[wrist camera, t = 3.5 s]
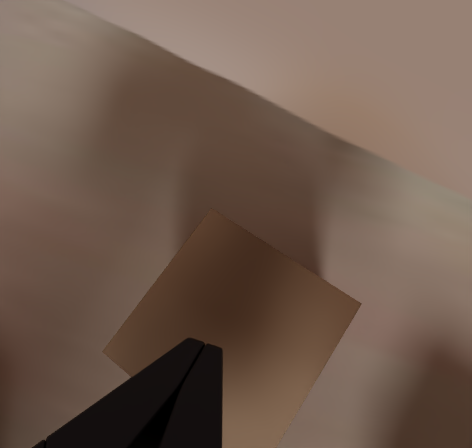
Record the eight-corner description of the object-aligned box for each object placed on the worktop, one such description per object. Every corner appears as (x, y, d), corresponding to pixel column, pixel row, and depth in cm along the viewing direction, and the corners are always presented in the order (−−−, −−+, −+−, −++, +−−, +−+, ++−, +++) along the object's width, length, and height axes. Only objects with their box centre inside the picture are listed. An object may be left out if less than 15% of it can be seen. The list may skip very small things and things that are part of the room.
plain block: (323, 325, 20) (361, 303, 11) (262, 424, 19) (254, 483, 10) (235, 265, 22) (211, 208, 13) (173, 352, 20) (102, 351, 12)
